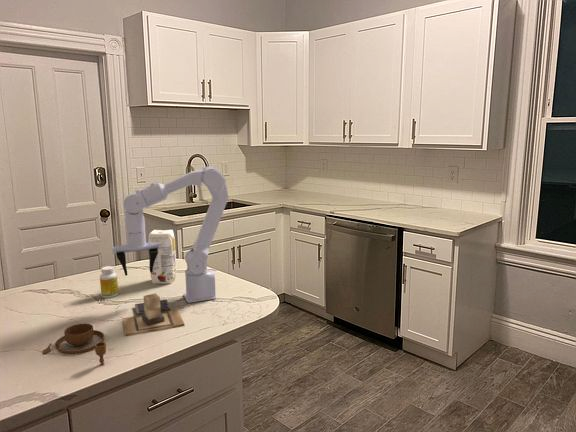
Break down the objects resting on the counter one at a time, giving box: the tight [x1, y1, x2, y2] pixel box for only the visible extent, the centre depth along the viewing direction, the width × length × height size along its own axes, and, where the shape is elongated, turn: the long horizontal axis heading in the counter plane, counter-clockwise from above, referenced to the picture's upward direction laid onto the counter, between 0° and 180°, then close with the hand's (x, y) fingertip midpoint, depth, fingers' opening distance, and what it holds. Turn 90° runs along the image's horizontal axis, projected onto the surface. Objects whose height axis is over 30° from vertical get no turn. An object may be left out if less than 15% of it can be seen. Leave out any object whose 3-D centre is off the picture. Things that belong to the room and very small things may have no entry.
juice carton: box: [147, 229, 177, 285], centre depth 164 cm, size 8×9×19 cm
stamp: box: [142, 292, 165, 326], centre depth 130 cm, size 5×5×8 cm
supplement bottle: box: [99, 265, 119, 299], centre depth 151 cm, size 5×5×10 cm
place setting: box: [42, 322, 115, 366], centre depth 114 cm, size 18×20×6 cm
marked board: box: [122, 309, 185, 337], centre depth 131 cm, size 16×11×1 cm
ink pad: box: [134, 299, 172, 316], centre depth 140 cm, size 10×8×1 cm
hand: (138, 273), depth 143 cm, fingers open, 7 cm apart
